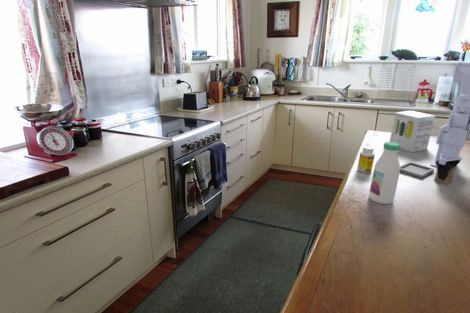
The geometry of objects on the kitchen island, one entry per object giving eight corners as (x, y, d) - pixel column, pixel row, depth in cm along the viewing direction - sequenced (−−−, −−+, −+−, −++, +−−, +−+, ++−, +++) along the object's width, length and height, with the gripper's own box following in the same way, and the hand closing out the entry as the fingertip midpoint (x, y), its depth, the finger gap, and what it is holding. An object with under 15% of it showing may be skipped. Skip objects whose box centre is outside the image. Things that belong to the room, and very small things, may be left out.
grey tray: (408, 164, 139) (409, 161, 139) (433, 172, 132) (434, 168, 132) (396, 170, 132) (396, 167, 132) (421, 179, 125) (422, 175, 124)
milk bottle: (391, 196, 110) (403, 141, 103) (394, 206, 103) (407, 148, 96) (368, 192, 112) (378, 138, 105) (369, 202, 105) (380, 145, 99)
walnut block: (438, 177, 127) (442, 163, 124) (451, 181, 123) (455, 167, 121) (434, 180, 124) (438, 166, 122) (447, 184, 121) (451, 170, 119)
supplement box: (387, 144, 166) (394, 112, 160) (404, 141, 172) (411, 110, 166) (411, 152, 155) (419, 117, 149) (427, 149, 161) (436, 115, 155)
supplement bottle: (365, 174, 128) (370, 150, 124) (354, 170, 132) (358, 146, 129) (374, 171, 131) (378, 148, 127) (362, 167, 135) (366, 144, 131)
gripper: (458, 151, 111) (448, 186, 116) (471, 143, 120) (462, 176, 125) (436, 145, 116) (427, 179, 121) (451, 139, 125) (442, 170, 130)
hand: (443, 177), depth 123 cm, fingers closed on walnut block, 4 cm apart
